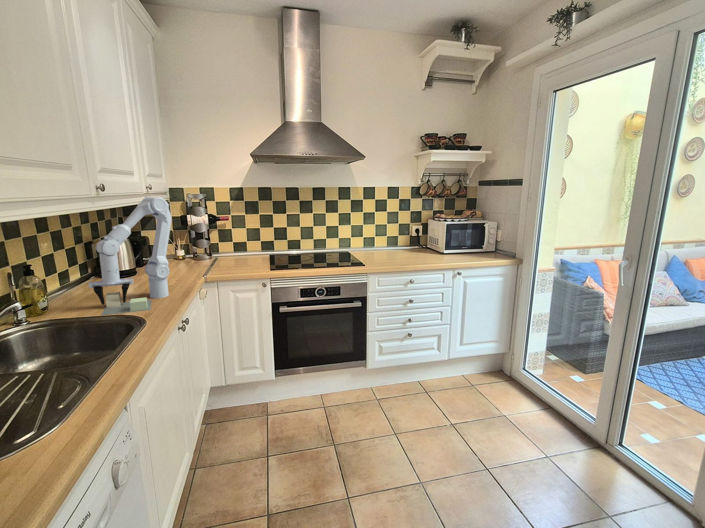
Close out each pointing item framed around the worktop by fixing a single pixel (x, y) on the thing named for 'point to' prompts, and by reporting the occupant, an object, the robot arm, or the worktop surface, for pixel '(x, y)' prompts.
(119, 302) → the cream block
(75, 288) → the worktop surface
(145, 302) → the base block
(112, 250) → the robot arm
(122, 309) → the build plate
